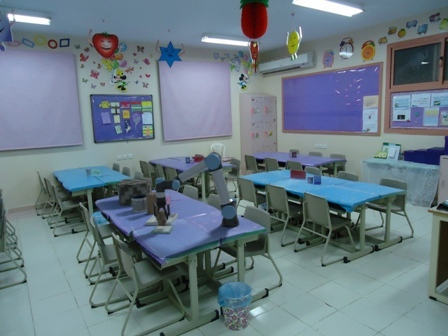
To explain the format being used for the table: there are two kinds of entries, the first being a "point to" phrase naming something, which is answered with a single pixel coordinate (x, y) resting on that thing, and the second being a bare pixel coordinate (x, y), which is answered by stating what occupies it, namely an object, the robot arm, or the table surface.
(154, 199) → the wooden block
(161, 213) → the walnut box
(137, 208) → the planter
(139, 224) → the table surface
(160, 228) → the board
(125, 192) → the storage box
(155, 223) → the tray
